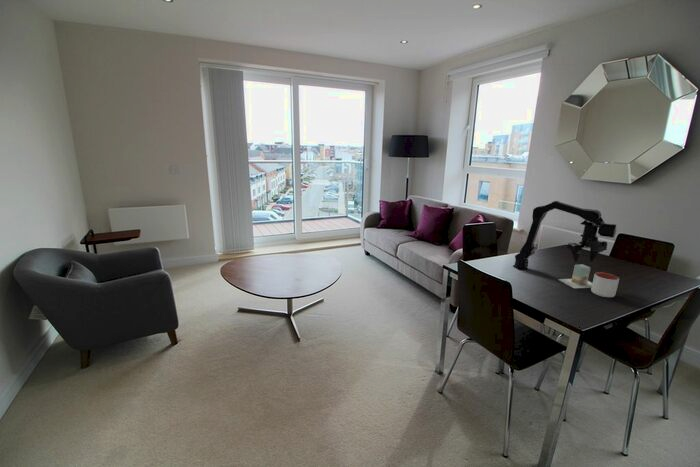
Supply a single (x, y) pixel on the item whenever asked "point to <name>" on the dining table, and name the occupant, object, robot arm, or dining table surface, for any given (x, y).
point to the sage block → (582, 270)
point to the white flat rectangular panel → (568, 282)
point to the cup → (604, 284)
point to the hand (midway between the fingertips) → (583, 261)
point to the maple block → (579, 280)
